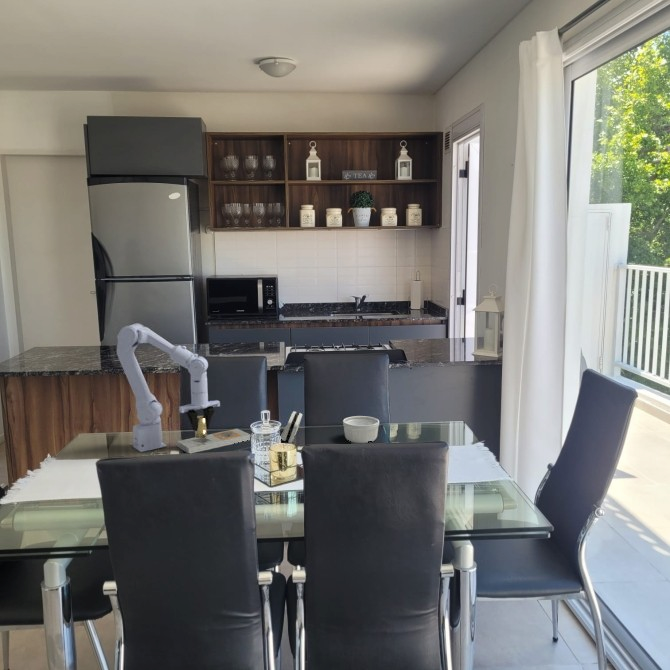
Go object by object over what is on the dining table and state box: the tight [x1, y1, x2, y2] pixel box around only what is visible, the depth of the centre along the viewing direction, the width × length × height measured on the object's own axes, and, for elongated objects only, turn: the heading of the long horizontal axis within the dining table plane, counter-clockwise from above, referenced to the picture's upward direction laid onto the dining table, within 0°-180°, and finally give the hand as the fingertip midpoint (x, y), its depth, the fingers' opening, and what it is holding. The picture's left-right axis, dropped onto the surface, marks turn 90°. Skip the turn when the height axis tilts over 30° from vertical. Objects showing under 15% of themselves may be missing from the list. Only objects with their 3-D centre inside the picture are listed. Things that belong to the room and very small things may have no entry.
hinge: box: [280, 411, 303, 444], centre depth 217 cm, size 17×5×10 cm, turn 176°
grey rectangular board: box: [176, 428, 252, 454], centre depth 210 cm, size 24×10×2 cm, turn 128°
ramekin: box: [342, 415, 380, 444], centre depth 213 cm, size 13×13×7 cm
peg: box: [194, 415, 208, 438], centre depth 206 cm, size 4×4×7 cm
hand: (200, 429), depth 206 cm, fingers closed on peg, 4 cm apart
